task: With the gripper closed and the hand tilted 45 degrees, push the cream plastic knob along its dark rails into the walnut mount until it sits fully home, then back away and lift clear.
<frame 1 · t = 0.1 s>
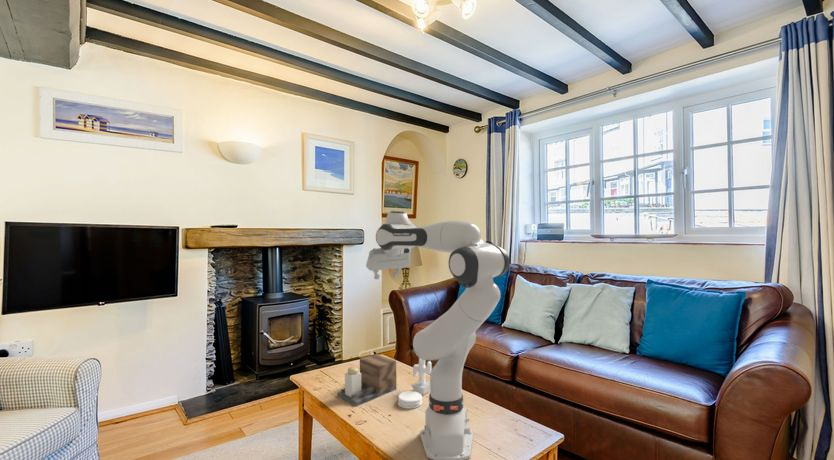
hand: (385, 277, 162), 52 cm above the table, tool tilted 20°, fingers open, 8 cm apart
figurine: (422, 392, 168), on the table
knob: (353, 381, 162), point 7 cm above the table, slide at 6.0 cm
coaster: (410, 404, 157), on the table
mount: (369, 391, 168), on the table
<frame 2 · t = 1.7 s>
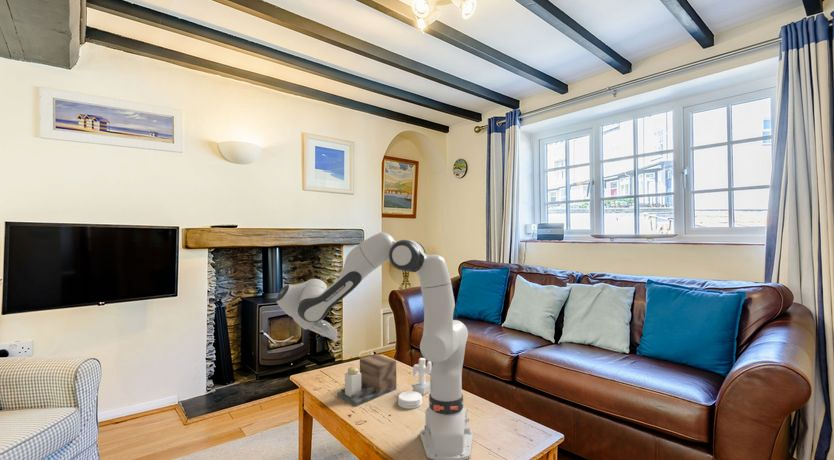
hand: (330, 337, 154), 29 cm above the table, tool tilted 45°, fingers open, 8 cm apart
nothing on the table moved.
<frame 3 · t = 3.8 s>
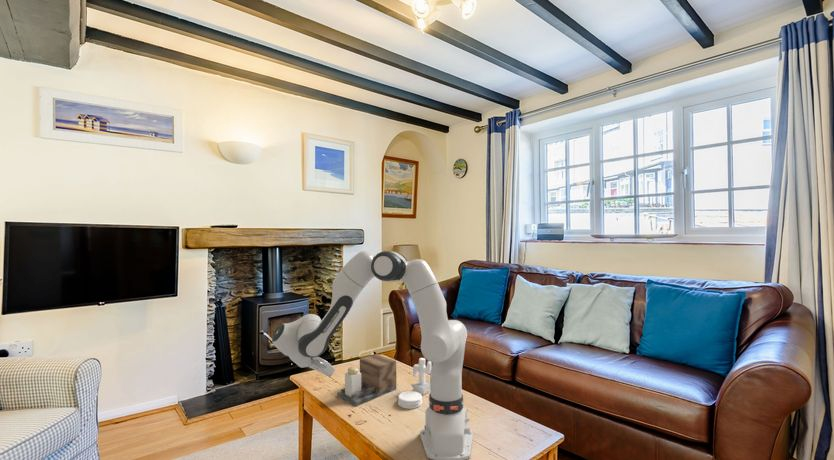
hand: (327, 373, 153), 14 cm above the table, tool tilted 45°, fingers closed
nothing on the table moved.
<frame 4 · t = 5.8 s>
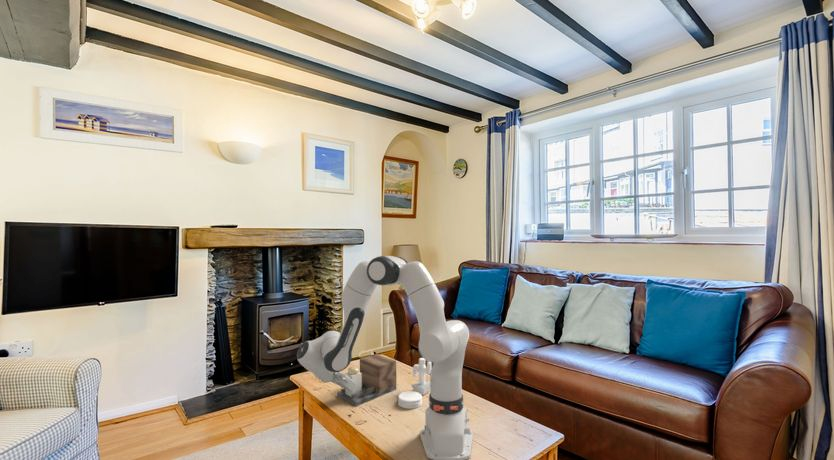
hand: (347, 387, 160), 6 cm above the table, tool tilted 45°, fingers closed, pressing on knob
knob: (353, 381, 162), point 7 cm above the table, slide at 5.8 cm, touching gripper
everything else where it was.
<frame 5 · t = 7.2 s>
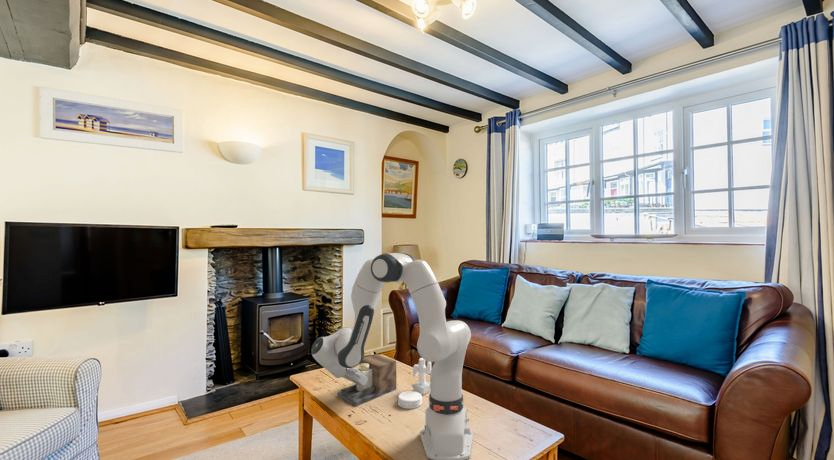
hand: (358, 382, 164), 6 cm above the table, tool tilted 45°, fingers closed, pressing on knob
knob: (364, 377, 167), point 7 cm above the table, slide at -0.1 cm, touching gripper
everything else where it was.
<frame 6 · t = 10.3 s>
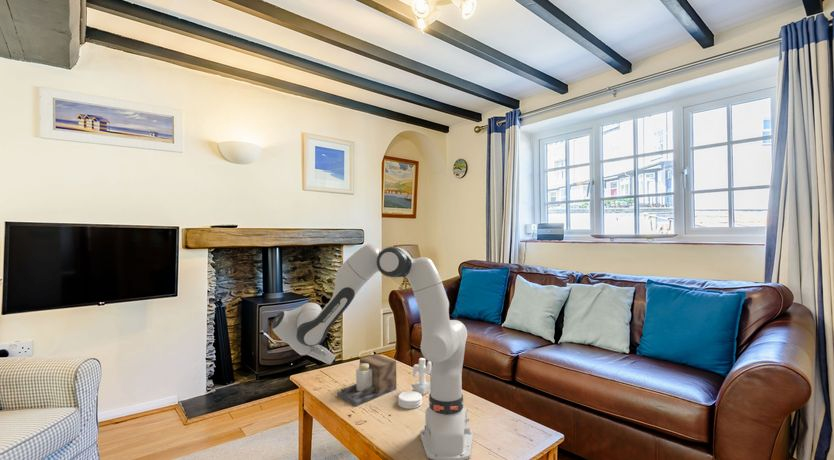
hand: (327, 361, 153), 19 cm above the table, tool tilted 45°, fingers closed
knob: (364, 377, 166), point 7 cm above the table, slide at 0.0 cm
everything else where it was.
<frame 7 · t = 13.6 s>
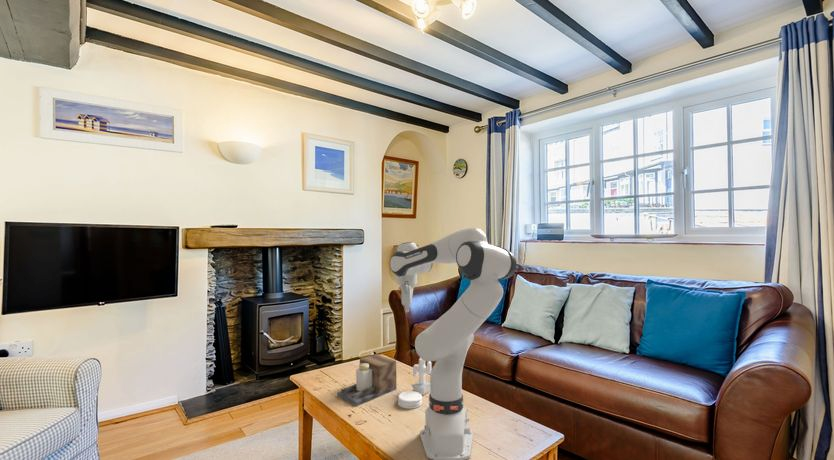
hand: (407, 311, 163), 37 cm above the table, tool pointing down, fingers closed
nothing on the table moved.
at the end: knob slide at 0.0 cm; figurine moved 0.2 cm from its start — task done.
